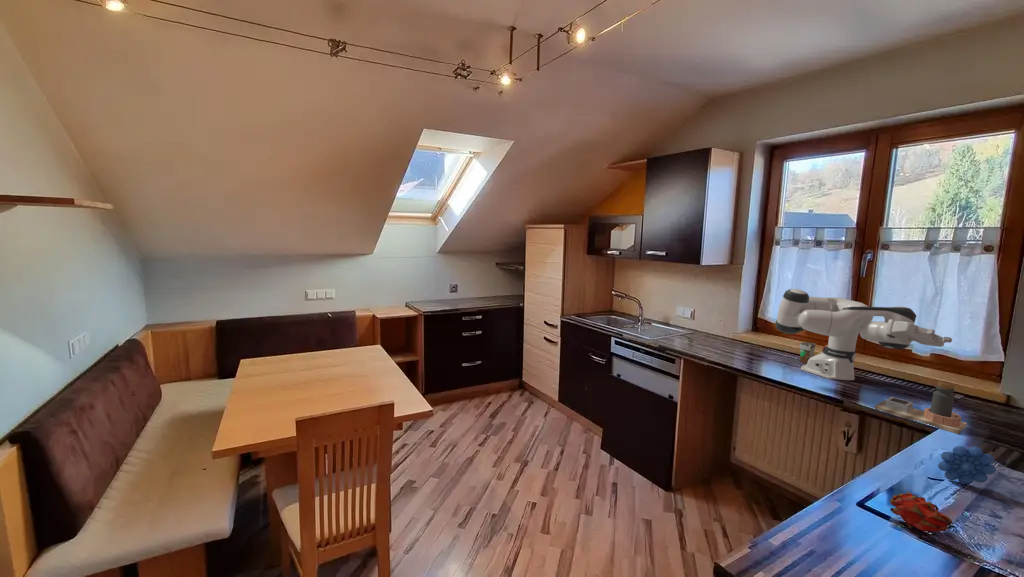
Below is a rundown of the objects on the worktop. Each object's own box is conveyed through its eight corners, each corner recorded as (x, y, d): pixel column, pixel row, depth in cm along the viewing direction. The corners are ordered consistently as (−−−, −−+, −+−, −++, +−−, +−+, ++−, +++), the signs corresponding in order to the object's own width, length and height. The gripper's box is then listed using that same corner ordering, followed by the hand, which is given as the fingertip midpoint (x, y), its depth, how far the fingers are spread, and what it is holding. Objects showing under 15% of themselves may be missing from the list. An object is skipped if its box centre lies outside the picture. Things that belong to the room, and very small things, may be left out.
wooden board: (874, 409, 183) (874, 405, 182) (884, 403, 189) (885, 400, 189) (958, 434, 162) (958, 430, 162) (966, 426, 169) (967, 423, 169)
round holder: (920, 418, 172) (921, 410, 171) (927, 412, 177) (929, 405, 177) (955, 428, 163) (957, 420, 163) (962, 422, 169) (964, 415, 169)
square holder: (884, 406, 182) (885, 399, 181) (890, 403, 186) (891, 396, 185) (906, 413, 176) (907, 406, 176) (912, 409, 180) (913, 402, 180)
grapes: (987, 484, 129) (995, 446, 128) (993, 495, 124) (1002, 455, 122) (933, 470, 136) (940, 433, 134) (937, 480, 131) (944, 442, 129)
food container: (800, 358, 253) (802, 341, 252) (813, 360, 249) (815, 343, 248) (794, 362, 245) (797, 344, 243) (807, 365, 241) (810, 347, 239)
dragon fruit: (882, 517, 115) (943, 549, 107) (882, 511, 110) (947, 545, 101) (895, 487, 117) (957, 517, 108) (896, 480, 111) (962, 511, 102)
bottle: (952, 425, 166) (960, 386, 164) (932, 421, 169) (939, 384, 167) (945, 419, 172) (952, 382, 170) (926, 415, 174) (932, 379, 172)
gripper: (918, 348, 184) (959, 352, 170) (882, 332, 179) (921, 335, 166) (921, 333, 184) (962, 336, 171) (886, 317, 180) (925, 319, 166)
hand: (942, 336), depth 168 cm, fingers open, 8 cm apart
